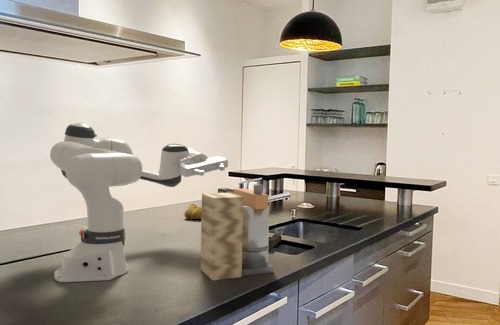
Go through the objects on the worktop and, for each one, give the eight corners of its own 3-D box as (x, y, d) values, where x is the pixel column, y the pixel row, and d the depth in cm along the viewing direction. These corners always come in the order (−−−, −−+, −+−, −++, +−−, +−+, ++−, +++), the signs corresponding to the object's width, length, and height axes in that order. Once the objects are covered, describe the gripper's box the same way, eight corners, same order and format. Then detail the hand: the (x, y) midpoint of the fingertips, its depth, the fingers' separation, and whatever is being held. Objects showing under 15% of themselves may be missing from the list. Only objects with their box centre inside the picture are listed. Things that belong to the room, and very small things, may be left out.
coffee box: (216, 216, 252) (217, 188, 252) (226, 215, 256) (226, 188, 255) (224, 218, 245) (225, 190, 244) (234, 217, 249) (235, 189, 248)
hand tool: (272, 242, 192) (272, 231, 192) (281, 242, 191) (281, 232, 190) (260, 252, 174) (260, 240, 174) (269, 253, 173) (269, 241, 173)
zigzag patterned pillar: (212, 280, 137) (213, 198, 136) (200, 269, 148) (201, 193, 146) (241, 277, 141) (243, 197, 140) (228, 266, 152) (229, 192, 151)
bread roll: (210, 219, 242) (210, 205, 241) (198, 222, 233) (198, 207, 233) (192, 216, 249) (192, 202, 248) (180, 219, 241) (181, 204, 240)
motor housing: (242, 275, 142) (244, 208, 141) (230, 266, 152) (231, 203, 151) (274, 272, 147) (275, 207, 145) (259, 263, 157) (261, 202, 156)
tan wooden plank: (255, 209, 141) (256, 185, 141) (233, 201, 158) (234, 180, 158) (268, 208, 143) (268, 185, 143) (245, 200, 160) (245, 180, 160)
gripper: (220, 164, 194) (235, 172, 183) (177, 174, 184) (190, 184, 173) (219, 151, 192) (234, 158, 181) (175, 160, 182) (189, 169, 171)
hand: (212, 171), depth 177 cm, fingers open, 8 cm apart
